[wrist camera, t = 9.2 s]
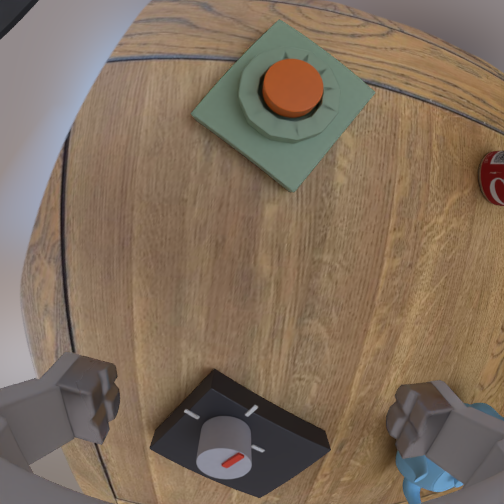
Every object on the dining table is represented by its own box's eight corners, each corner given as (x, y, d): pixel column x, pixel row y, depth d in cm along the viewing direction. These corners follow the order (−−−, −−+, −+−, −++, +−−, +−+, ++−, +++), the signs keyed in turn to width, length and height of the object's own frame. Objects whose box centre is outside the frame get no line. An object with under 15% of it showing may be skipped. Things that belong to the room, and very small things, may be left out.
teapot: (380, 414, 28) (414, 481, 18) (477, 366, 27) (526, 411, 17) (385, 473, 31) (408, 527, 21) (467, 432, 30) (500, 476, 20)
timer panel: (152, 428, 28) (146, 448, 25) (216, 360, 26) (213, 381, 23) (258, 479, 30) (259, 499, 27) (331, 426, 28) (337, 446, 25)
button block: (195, 119, 22) (185, 107, 18) (276, 31, 20) (281, 7, 16) (289, 192, 23) (298, 193, 19) (365, 99, 22) (385, 85, 18)
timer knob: (229, 453, 25) (227, 487, 21) (191, 432, 24) (184, 466, 20) (261, 431, 24) (263, 466, 20) (222, 407, 24) (218, 443, 19)
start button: (250, 95, 18) (251, 87, 17) (284, 58, 18) (288, 48, 16) (295, 128, 19) (300, 124, 17) (328, 91, 18) (335, 83, 16)
